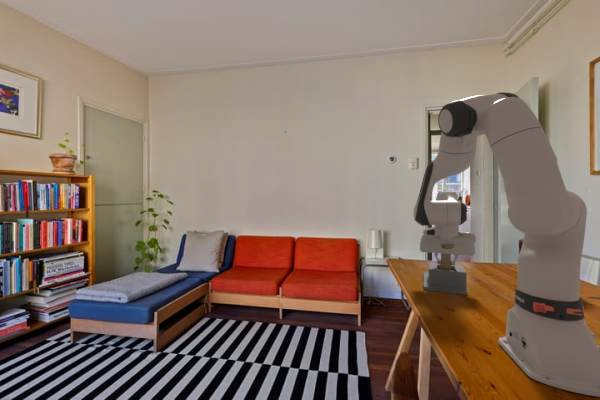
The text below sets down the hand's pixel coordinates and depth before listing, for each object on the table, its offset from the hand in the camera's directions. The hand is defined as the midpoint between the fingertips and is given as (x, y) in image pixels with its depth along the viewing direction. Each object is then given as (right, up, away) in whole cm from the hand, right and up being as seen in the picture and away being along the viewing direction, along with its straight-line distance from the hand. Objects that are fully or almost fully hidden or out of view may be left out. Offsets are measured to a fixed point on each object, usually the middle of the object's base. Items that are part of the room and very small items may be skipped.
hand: (445, 264), depth 116 cm
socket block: (0, -8, +1) cm, 9 cm away
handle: (0, -7, 0) cm, 7 cm away
